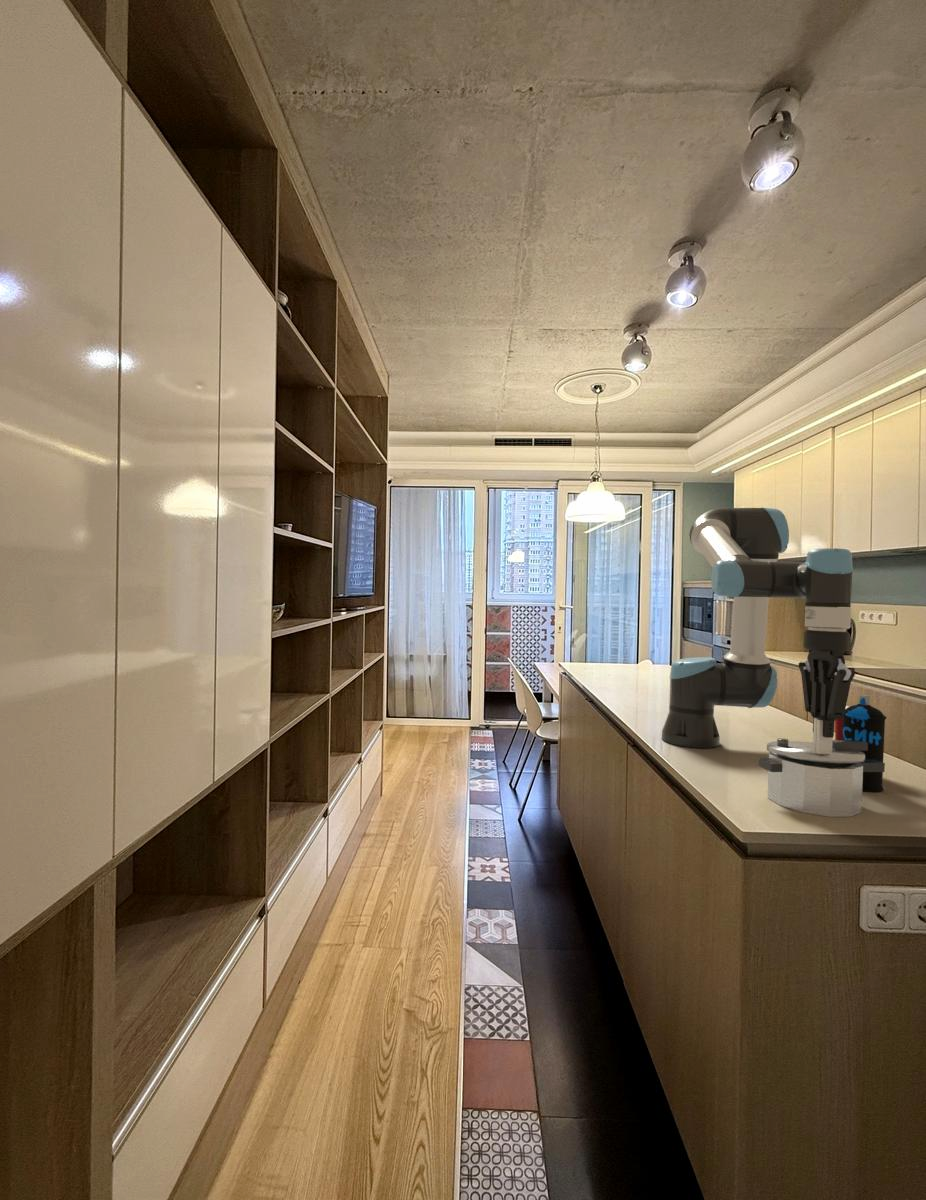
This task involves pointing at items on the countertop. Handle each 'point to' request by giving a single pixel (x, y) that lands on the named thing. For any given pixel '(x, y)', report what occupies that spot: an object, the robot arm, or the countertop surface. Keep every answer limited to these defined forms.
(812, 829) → the countertop surface
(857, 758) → the lid
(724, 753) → the countertop surface
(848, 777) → the pot
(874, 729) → the aerosol can
